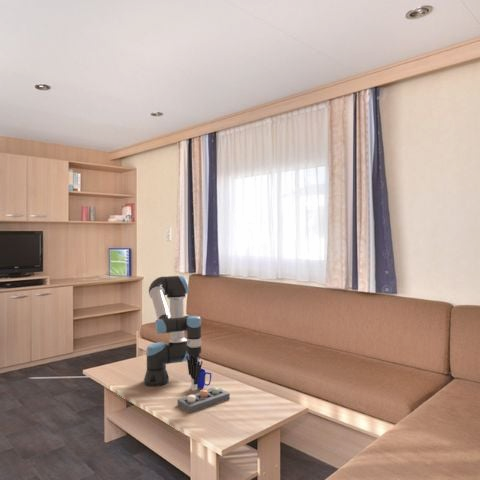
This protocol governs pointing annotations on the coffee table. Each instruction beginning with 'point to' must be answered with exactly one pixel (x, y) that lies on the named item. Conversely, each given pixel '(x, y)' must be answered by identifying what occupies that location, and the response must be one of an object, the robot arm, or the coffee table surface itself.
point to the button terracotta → (203, 393)
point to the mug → (202, 379)
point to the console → (203, 401)
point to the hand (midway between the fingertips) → (194, 389)
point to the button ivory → (191, 399)
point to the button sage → (215, 390)
